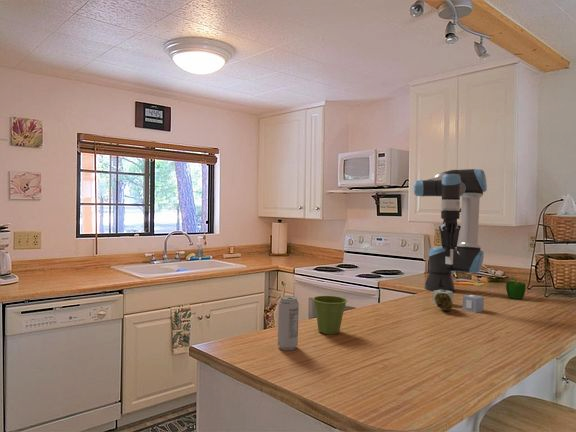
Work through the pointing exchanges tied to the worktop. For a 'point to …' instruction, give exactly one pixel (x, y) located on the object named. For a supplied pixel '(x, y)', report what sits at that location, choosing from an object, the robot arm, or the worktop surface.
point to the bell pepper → (515, 289)
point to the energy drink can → (288, 323)
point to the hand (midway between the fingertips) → (449, 264)
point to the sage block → (443, 292)
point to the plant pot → (329, 313)
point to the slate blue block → (473, 303)
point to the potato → (443, 301)
